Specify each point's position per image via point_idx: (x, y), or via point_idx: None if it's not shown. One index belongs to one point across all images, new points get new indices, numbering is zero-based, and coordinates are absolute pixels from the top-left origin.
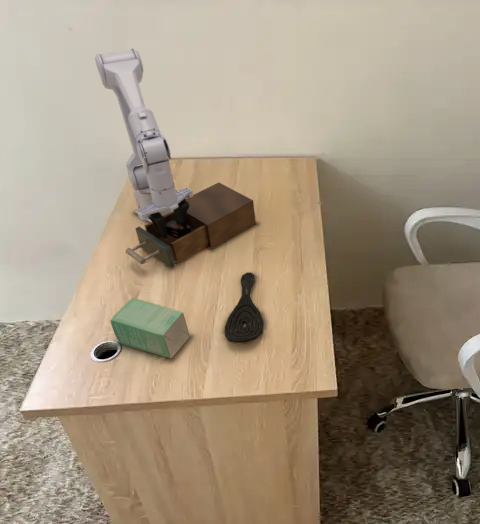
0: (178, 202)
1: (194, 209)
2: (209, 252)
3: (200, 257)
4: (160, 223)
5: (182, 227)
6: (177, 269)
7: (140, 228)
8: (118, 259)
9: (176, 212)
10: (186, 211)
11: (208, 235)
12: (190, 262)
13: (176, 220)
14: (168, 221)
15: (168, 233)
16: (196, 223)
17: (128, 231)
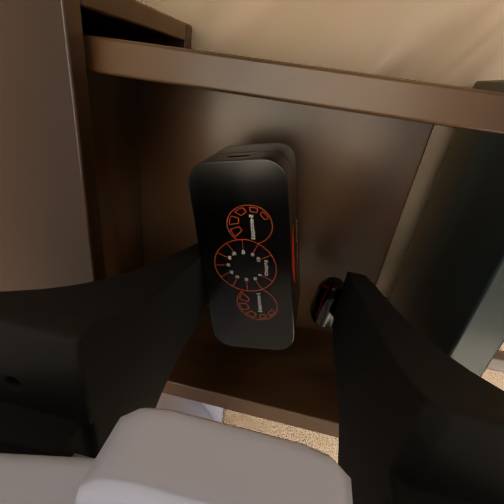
0: (29, 485)
1: (31, 282)
2: (220, 17)
3: (290, 28)
4: (472, 381)
5: (238, 219)
6: (466, 65)
7: None
8: (491, 381)
9: (162, 359)
10: (89, 286)
11: (141, 18)
12: (364, 46)
13: (198, 317)
14: (216, 357)
15: (299, 292)
16: (114, 220)
17: (307, 438)
